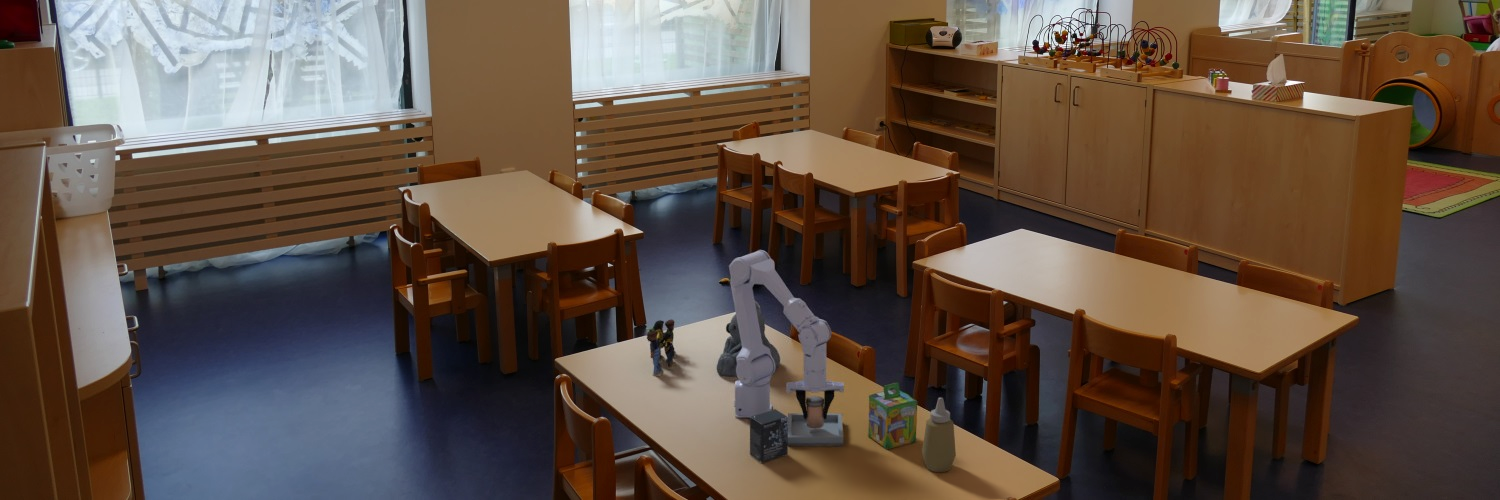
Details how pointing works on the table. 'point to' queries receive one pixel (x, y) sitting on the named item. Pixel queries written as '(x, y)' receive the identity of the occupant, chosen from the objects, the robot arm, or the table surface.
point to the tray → (815, 431)
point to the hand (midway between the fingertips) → (815, 417)
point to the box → (768, 435)
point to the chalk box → (892, 417)
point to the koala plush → (734, 346)
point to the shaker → (815, 411)
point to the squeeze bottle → (939, 440)
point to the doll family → (661, 345)
